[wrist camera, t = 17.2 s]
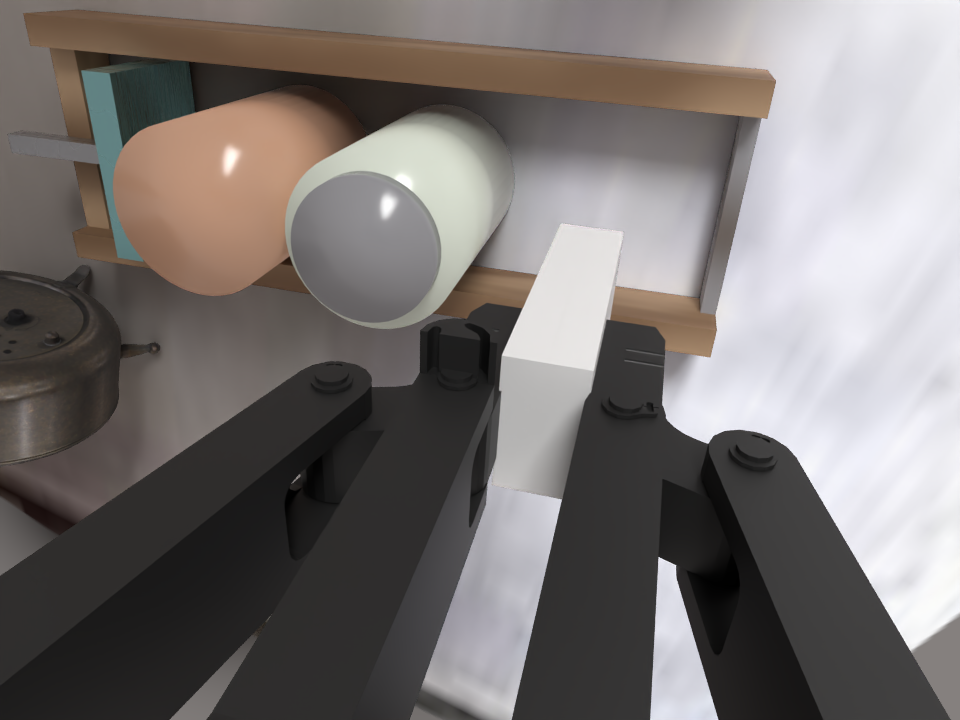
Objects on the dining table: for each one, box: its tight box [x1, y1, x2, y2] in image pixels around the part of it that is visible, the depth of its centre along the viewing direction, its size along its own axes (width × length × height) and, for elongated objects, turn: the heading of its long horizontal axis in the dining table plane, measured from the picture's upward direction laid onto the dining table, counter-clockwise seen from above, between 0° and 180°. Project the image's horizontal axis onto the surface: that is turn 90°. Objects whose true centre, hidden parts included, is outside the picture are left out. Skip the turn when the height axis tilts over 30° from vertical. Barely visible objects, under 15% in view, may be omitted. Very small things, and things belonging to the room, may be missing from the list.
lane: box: [23, 10, 776, 357], centre depth 31 cm, size 10×29×3 cm, turn 86°
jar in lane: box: [113, 85, 367, 296], centre depth 29 cm, size 6×6×9 cm
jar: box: [285, 104, 515, 329], centre depth 27 cm, size 6×6×10 cm
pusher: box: [7, 58, 195, 262], centre depth 32 cm, size 7×7×5 cm
